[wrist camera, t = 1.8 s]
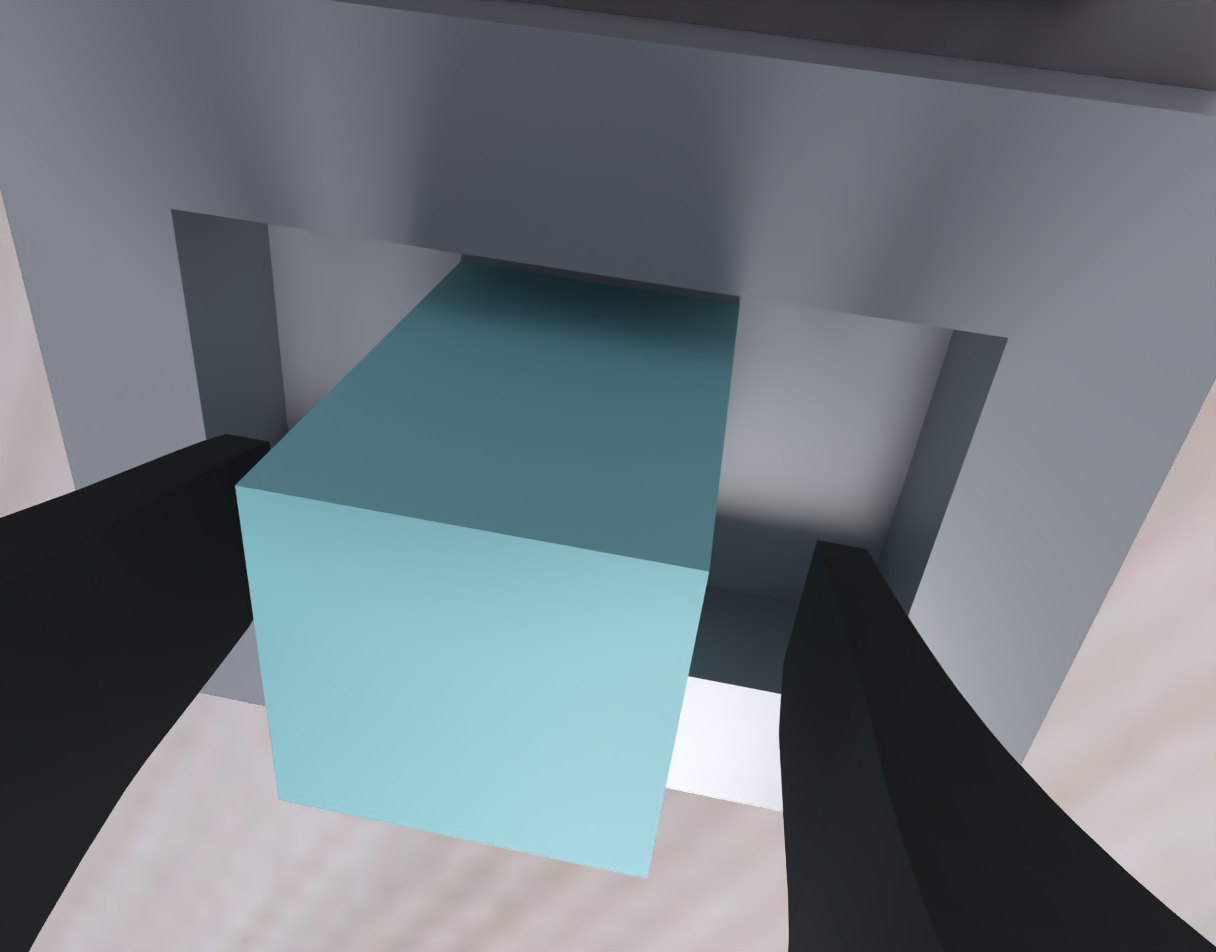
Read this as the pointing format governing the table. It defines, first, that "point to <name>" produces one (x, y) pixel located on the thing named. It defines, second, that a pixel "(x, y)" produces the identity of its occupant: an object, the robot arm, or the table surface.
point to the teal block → (496, 564)
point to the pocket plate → (652, 284)
